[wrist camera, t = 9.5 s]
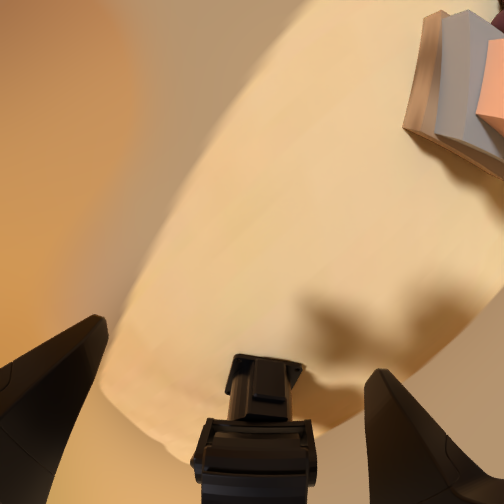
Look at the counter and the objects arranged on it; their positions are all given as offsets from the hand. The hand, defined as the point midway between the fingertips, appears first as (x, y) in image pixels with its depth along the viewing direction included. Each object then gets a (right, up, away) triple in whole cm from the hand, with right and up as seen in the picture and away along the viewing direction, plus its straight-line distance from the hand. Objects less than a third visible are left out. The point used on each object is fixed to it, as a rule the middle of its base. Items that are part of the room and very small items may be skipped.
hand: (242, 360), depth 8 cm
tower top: (+15, +13, +3) cm, 20 cm away
